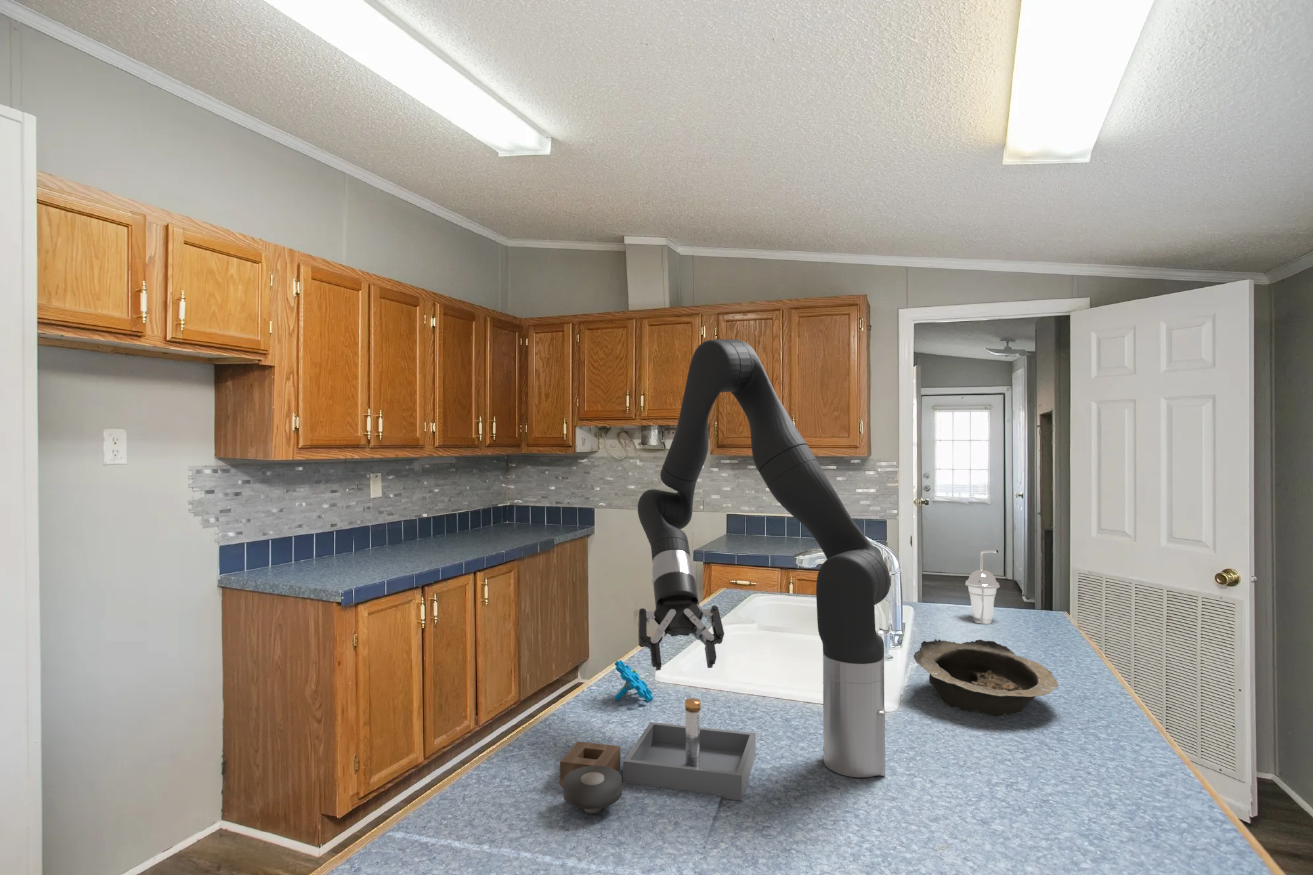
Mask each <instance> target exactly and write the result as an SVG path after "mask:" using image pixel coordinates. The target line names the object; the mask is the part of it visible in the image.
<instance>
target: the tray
mask: <svg viewBox="0 0 1313 875" xmlns="http://www.w3.org/2000/svg"><path fill="white" fill-rule="evenodd" d="M756 735H757V734H756V732H748V731H739V730H728V729H719V728H709V727H703V726H702V727H701V726H700V767H699V768H697V767H689V766H685V756H686V725H682V724H681V725H680V724H673V723H662V722H651V721H650V722H649V723H648V725H647V726H646V728H645V729H644V730H643V732H642V733H641V735H640V736H639V738H638V739H637V740H636V742H635V743H634V745H633V747H632V748H631V749H630V751H629V752H628V754H627V755H626V756H625V758H624V759H623V761H622V766H623V768H622V769H623V770H622V772H623V773H622V775H623V778H622V780H623V783H624V784H625V783H626V784H632V785H640V786H641V785H642V786H647V787H649V786H650V787H657V788H662V789H663V788H664V789H672V790H680V791H687V792H695V793H700V794H701V793H702V794H710V795H716V796H717V795H719V796H721V799H725V800H732V801H740V802H741V801H743V799H744V798H743V797H744V795H745V791H746V788H747V785H748V782H749V778H750V775H751V772H752V770H753V765H754V763H755V758H756V755H757V753H756V752H757V747H756V745H757V744H756V743H757V740H756V739H757V738H756Z"/></svg>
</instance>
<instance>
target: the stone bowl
mask: <svg viewBox="0 0 1313 875" xmlns="http://www.w3.org/2000/svg"><path fill="white" fill-rule="evenodd" d="M913 659H914V660H915V663H917V664H918V665H919V666H920V667H921V668H922V669H923V670H925V671H926V672H927V673H929V676H928V681H929V684H930V685H932V686H933V688H934V690H935V693H936V694H937V696H938V698H939V699H940V701H941V702H943V703H944V704H945V705H947V706H948V707H954V708H957V709H958V710H960V711H965V712H971V711H972V712H974V711H976V712H978V713H982V714H986V715H989V716H993V717H1002V716H1005V715H1012V714H1019V713H1021V712H1022V711H1023V710H1024V709H1025V708H1026V706H1027V705H1029V704H1030V703H1031V702H1032V701H1033V700H1034V699H1035V698H1036V697H1040V696H1041V697H1042V696H1046V695H1049V694H1051V693H1052V692H1053V691H1055V690H1056V689H1057V687H1059V683H1058V681H1057V679H1056V678H1055V677H1054V676H1053V672H1052V671H1050V670H1049V669H1048V668H1046V667H1045V666H1043V665H1042V664H1040V663H1038V662H1035V661H1033V660H1031V659H1028V658H1025V657H1024V656H1019V655H1016V654H1015V652H1013V651H1012V650H1011V649H1010V648H1008V646H1006V645H1002V644H999V643H997V642H996V641H993V640H983V639H975V640H974V641H965V642H961V643H958V642H955V641H947V640H943V639H942V640H941V639H940V638H939V639H938V640H937V638H935V639H934V640H931V641H929V640H928V641H925V640H924V641H922V642H921V643H920V647H919V649H918V650H917V651H916V652H914V654H913Z"/></svg>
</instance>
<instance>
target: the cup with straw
mask: <svg viewBox="0 0 1313 875" xmlns="http://www.w3.org/2000/svg"><path fill="white" fill-rule="evenodd" d="M994 553H995V554H998V553H999V550H998V549H994V550H993V549H992V550H991V549H989V550H986V549H985V550H981V551H980V554H979V559H980V560H979V565H980V566H979V568H980V569H977V570H975V571H973V572H971V573H970V575H969V577H968V579H966V580H965V586H967V587H968V588H967V589H968V594H969V598H970V605H971V615H972V618H973V619H972V621H973V622H974V623H975V624H976V623H977V624H984V625H986V624H987V625H988V624H992V619H993V614H994V605H995V599H996V598H995V597H996V595H997V589H999V588H1000V587H1001V586H1000V583H999V582H998V581H997V579H996V576H994V574H993V573H992V572H990V571H988V570H985V569H984V554H994Z"/></svg>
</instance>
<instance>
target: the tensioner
mask: <svg viewBox="0 0 1313 875" xmlns="http://www.w3.org/2000/svg"><path fill="white" fill-rule="evenodd" d="M620 771H621V745H613V744H612V745H611V744H605V743H604V744H603V743H595V742H587V741H586V742H585V741H576V742H575V744H574V745H573V746H572V747H571V748H570V749H569V751H568V752H567V753H566V754H565V755H564V756H563V757H562V758H561V760H560V761H559V785H560V787H561V786H562V787H563V788H562V789H563V790H562V791H563V799H564V801H565V802H566V803H567V804H568V805H570V806H571V807H574V808H577V809H583V810H584V812H586V813H588V814H596V813H599V812H601V810H602V809H603V808H605V807H609V806H612V805H613V804H615V803H616V802H618V801H619V800H620V799H621V798H622V793H623V792H622V791H623V790H622V789H623V787H622V785H623V784H622V780H623V778H622V774H621V773H620Z"/></svg>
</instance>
